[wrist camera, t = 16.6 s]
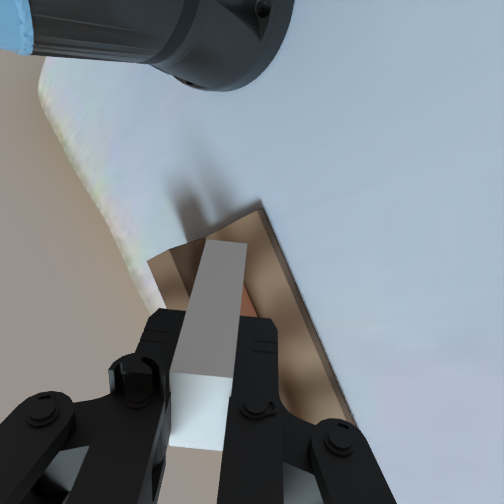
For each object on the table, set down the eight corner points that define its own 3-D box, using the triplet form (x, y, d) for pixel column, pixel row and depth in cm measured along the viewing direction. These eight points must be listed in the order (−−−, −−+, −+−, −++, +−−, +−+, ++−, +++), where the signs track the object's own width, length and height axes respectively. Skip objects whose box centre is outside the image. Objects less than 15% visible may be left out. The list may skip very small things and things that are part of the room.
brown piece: (188, 247, 49) (146, 261, 45) (263, 208, 41) (221, 220, 37) (305, 522, 49) (275, 565, 44) (403, 537, 41) (379, 590, 36)
